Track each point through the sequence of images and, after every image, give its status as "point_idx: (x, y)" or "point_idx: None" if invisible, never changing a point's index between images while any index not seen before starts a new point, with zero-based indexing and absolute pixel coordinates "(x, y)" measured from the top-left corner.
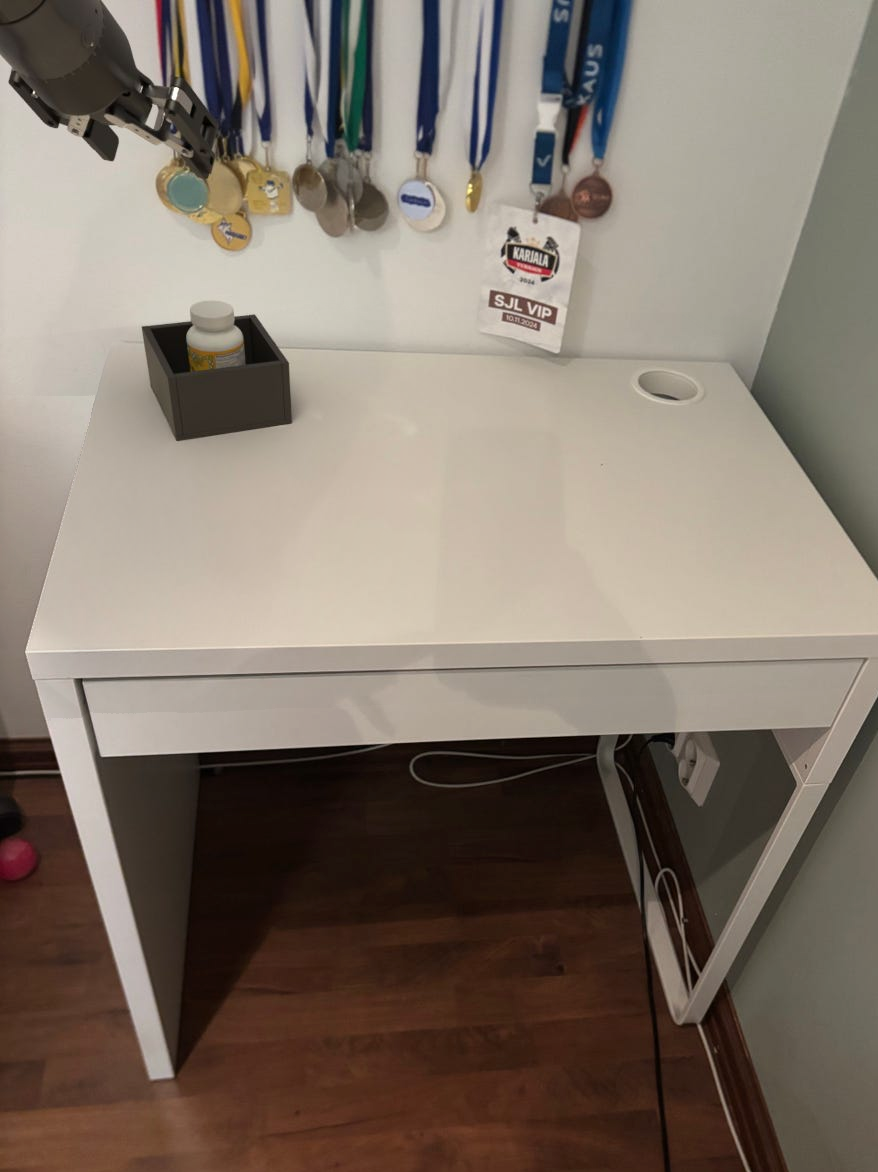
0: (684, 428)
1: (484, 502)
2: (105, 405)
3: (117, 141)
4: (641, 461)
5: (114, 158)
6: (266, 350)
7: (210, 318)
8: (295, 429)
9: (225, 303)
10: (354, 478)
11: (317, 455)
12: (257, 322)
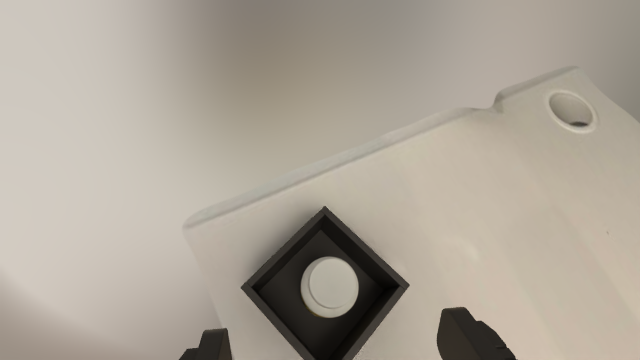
0: (614, 158)
1: (582, 331)
2: None
3: (226, 335)
4: (623, 214)
5: (231, 357)
6: (362, 253)
7: (344, 304)
8: None
9: (337, 261)
10: None
11: None
12: (336, 220)
